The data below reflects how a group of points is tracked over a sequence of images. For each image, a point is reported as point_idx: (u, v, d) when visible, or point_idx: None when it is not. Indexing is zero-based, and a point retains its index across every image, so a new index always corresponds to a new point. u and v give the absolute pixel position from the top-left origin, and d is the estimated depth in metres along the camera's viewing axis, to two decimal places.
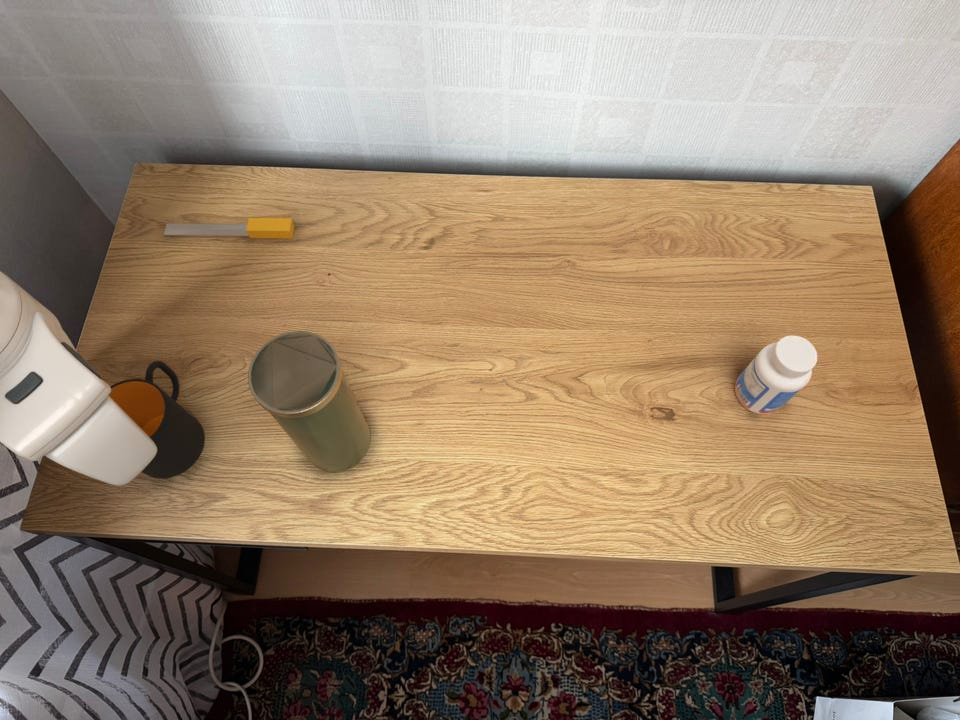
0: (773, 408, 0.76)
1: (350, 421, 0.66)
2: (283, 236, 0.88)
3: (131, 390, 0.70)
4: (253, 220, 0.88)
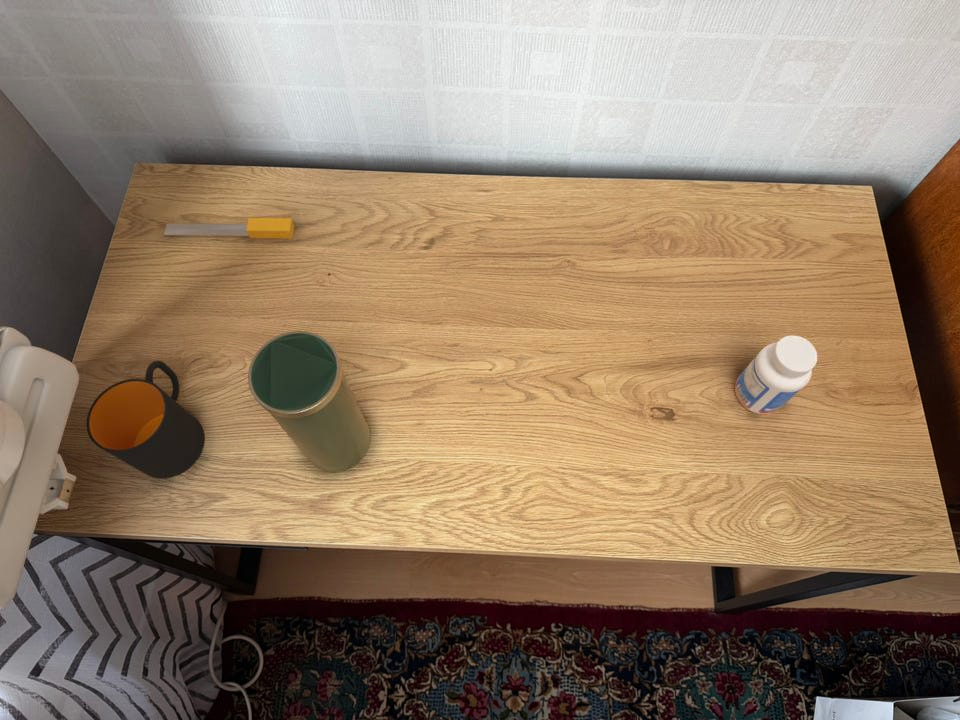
0: (773, 408, 0.76)
1: (350, 421, 0.66)
2: (283, 236, 0.88)
3: (131, 390, 0.70)
4: (253, 220, 0.88)
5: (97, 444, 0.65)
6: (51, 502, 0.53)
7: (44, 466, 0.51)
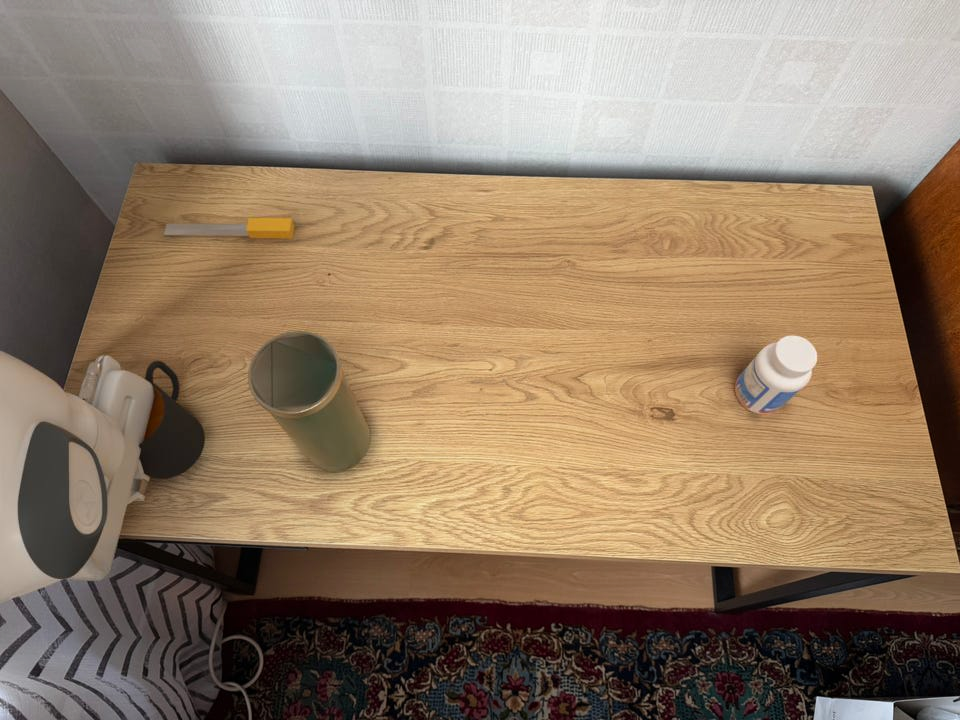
0: (773, 408, 0.76)
1: (350, 421, 0.66)
2: (283, 236, 0.88)
3: None
4: (253, 220, 0.88)
5: None
6: (134, 495, 0.66)
7: (131, 467, 0.64)
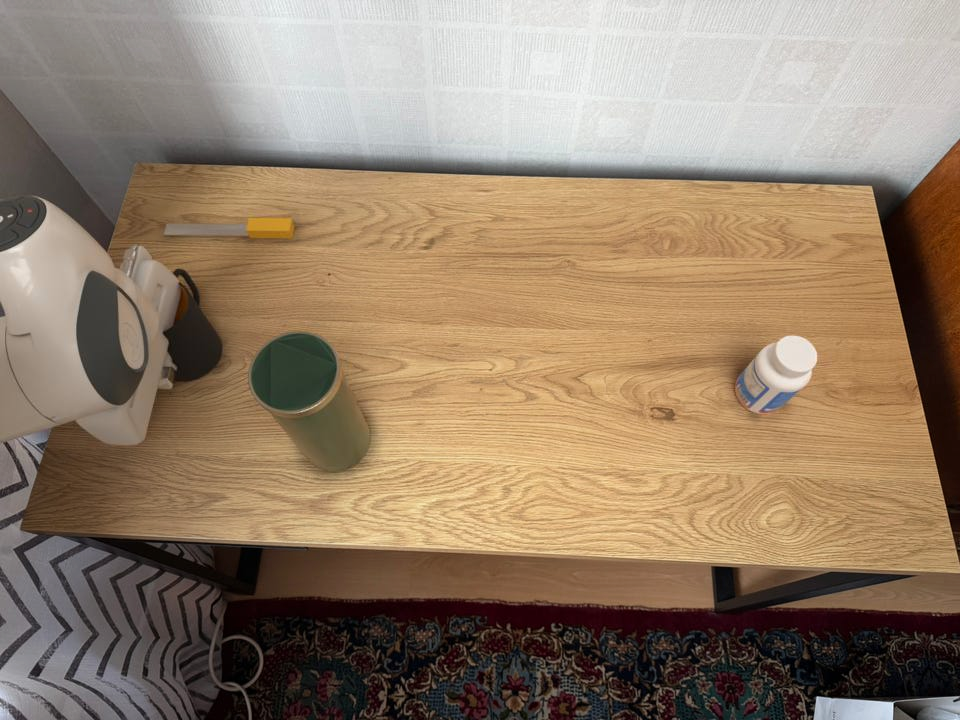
0: (773, 408, 0.76)
1: (350, 421, 0.66)
2: (283, 236, 0.88)
3: None
4: (253, 220, 0.88)
5: None
6: (163, 379, 0.72)
7: (162, 349, 0.70)
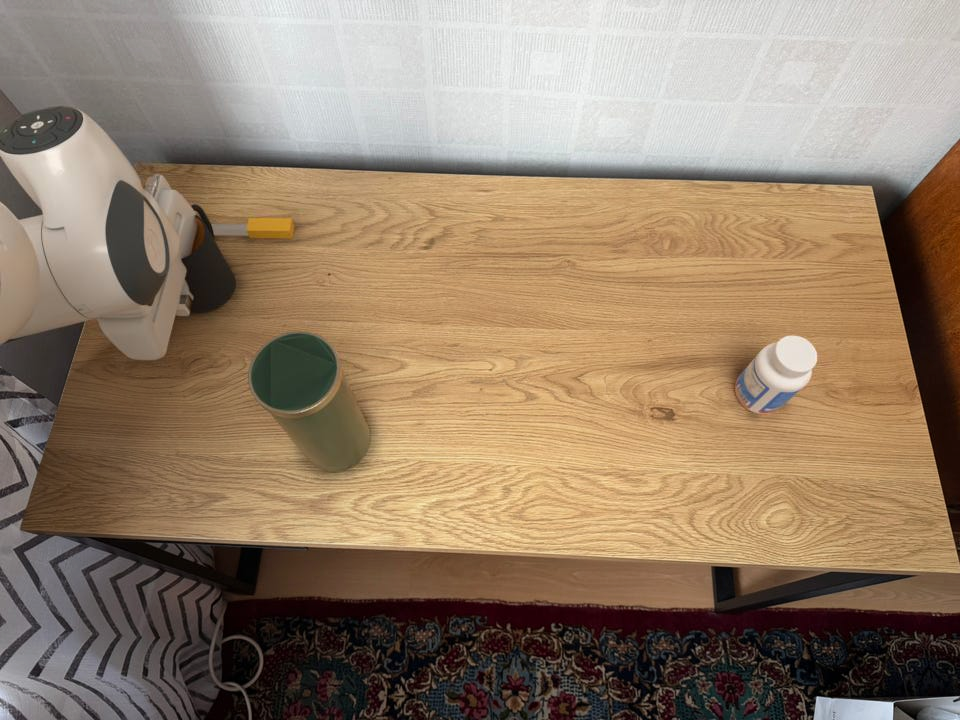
0: (773, 408, 0.76)
1: (350, 421, 0.66)
2: (283, 236, 0.88)
3: None
4: (253, 220, 0.88)
5: None
6: (181, 304, 0.76)
7: (180, 274, 0.74)
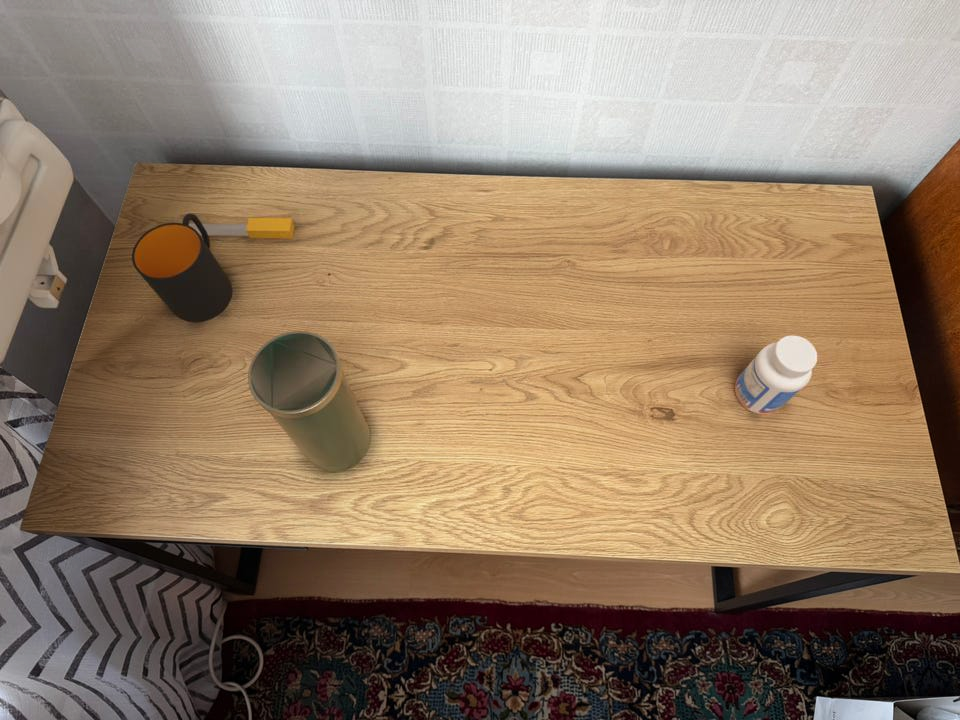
0: (773, 408, 0.76)
1: (350, 421, 0.66)
2: (283, 236, 0.88)
3: (169, 235, 0.79)
4: (253, 220, 0.88)
5: (142, 273, 0.74)
6: (42, 290, 0.53)
7: (37, 245, 0.51)
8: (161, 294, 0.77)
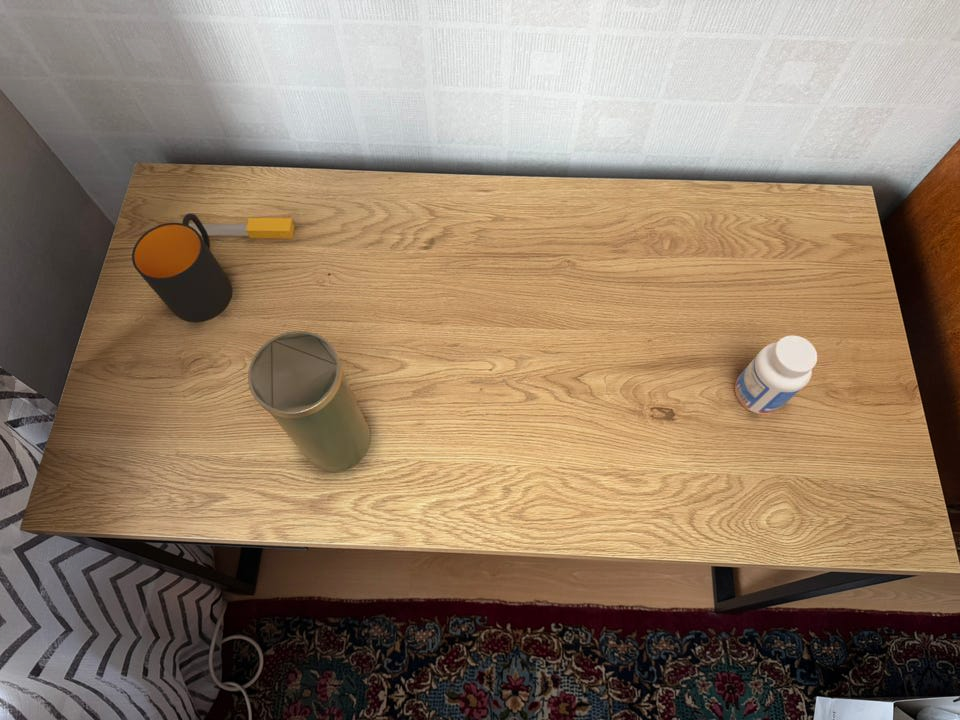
0: (773, 408, 0.76)
1: (350, 421, 0.66)
2: (283, 236, 0.88)
3: (169, 235, 0.79)
4: (253, 220, 0.88)
5: (142, 273, 0.74)
6: None
7: None
8: (161, 294, 0.77)
